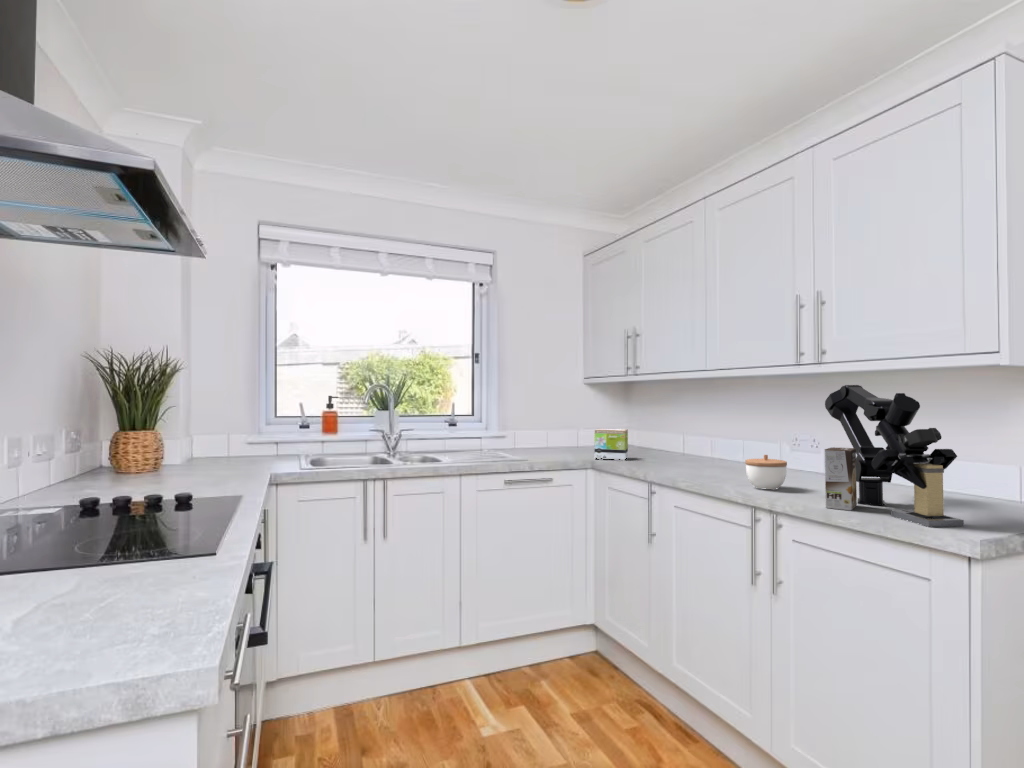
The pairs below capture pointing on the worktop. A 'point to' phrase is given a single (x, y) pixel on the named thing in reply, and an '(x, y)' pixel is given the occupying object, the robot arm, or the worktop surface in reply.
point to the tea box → (611, 443)
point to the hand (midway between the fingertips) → (932, 487)
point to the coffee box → (840, 478)
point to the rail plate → (919, 518)
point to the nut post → (929, 490)
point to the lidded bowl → (766, 472)
